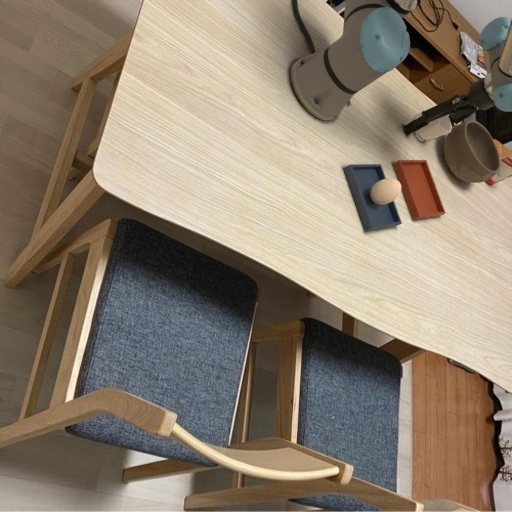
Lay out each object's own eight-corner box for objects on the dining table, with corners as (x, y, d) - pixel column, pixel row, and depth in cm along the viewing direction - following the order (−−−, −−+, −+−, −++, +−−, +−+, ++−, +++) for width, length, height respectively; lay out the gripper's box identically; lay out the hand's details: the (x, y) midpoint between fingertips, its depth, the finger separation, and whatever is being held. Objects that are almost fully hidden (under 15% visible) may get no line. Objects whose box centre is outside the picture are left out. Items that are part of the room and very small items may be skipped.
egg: (376, 188, 135) (403, 174, 129) (382, 209, 133) (410, 196, 128) (361, 185, 131) (389, 171, 125) (367, 208, 130) (395, 194, 124)
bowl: (432, 124, 165) (463, 107, 158) (467, 149, 175) (497, 134, 168) (437, 175, 158) (470, 159, 150) (474, 198, 167) (506, 184, 160)
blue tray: (343, 168, 130) (350, 164, 128) (374, 167, 138) (381, 164, 136) (364, 231, 127) (372, 227, 126) (394, 226, 136) (402, 223, 134)
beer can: (486, 186, 175) (537, 164, 164) (478, 167, 176) (528, 144, 165) (494, 184, 180) (544, 162, 168) (486, 165, 180) (536, 143, 169)
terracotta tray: (392, 163, 144) (399, 160, 142) (419, 163, 153) (426, 159, 152) (412, 220, 142) (419, 217, 140) (439, 216, 151) (445, 213, 149)
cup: (427, 150, 158) (452, 137, 152) (404, 132, 153) (430, 117, 147) (426, 131, 161) (451, 117, 156) (404, 112, 156) (429, 97, 151)
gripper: (475, 100, 133) (398, 143, 149) (515, 106, 149) (441, 144, 164) (464, 71, 134) (388, 117, 150) (504, 80, 150) (432, 120, 165)
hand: (416, 131), depth 157 cm, fingers open, 10 cm apart
